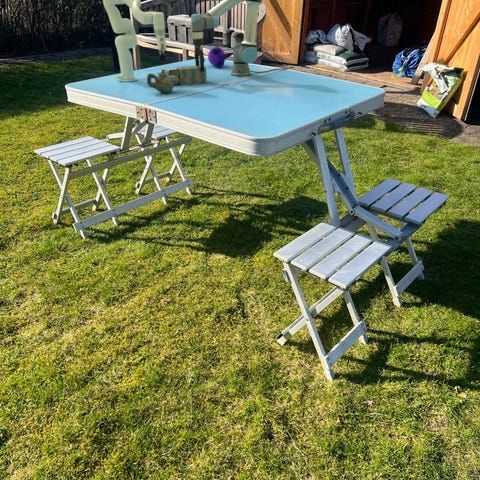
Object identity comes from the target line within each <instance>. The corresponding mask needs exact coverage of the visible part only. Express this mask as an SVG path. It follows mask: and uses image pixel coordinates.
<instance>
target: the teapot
mask: <svg viewBox="0 0 480 480" xmlns="http://www.w3.org/2000/svg"><path fill="white" fill-rule="evenodd" d="M165 70H166V69H163V68H162V69H161V72H158V73H159V75H156V74H154V73H148V74H147V76H146V83H147V85H148V87H150V88H153V89H155V90H157V91H158V92H160V93H162V94H170V92H172V91H173V89H174V86H175V85H177V84H179V83H178V82H179V79H178V77H176V76H175V75H171V76H168V77H167V73H166V72H165ZM152 79H154V82H152Z"/></svg>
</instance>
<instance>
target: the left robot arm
mask: <svg viewBox="0 0 480 480" xmlns="http://www.w3.org/2000/svg"><path fill="white" fill-rule="evenodd" d="M102 3H103V4H102V5H103V7H104V9H105V11H106V13H107V16H108V19H109V22H110V25H111V28H112V30H113V32H114V33H115V34H120V35H118V36H115V40H114V44H115V48H116V52H117V56H118V62H119V67H120V68H119V69H120V74H119V75H115V76H114V78H115V79H117V80H119V81H120V82H123V83H126V82H128V83H130V82H135V81H137V79H138V78H137V77H135V71H134V63H133V55H132V53H131V51H130V49H134V48H136V47H138V43H139V42H138V37H137V33H136V30H135V27H134V24H133V22H132V21H131V20H130V19H129V18H123V17H122V16H121V12H120V10H119V9H118V7H117V6H116V5H126V6H127V7H129V8H130V9H131V14H132V16H133V18H134V19H135V20H136V21H137V22H139V23H140V24H142V25H143V26H145V25H146V26H147V25H153V33H154V36H156V47H157V50H158V52H159V61H160V62H166V56H165V51H167V42H166V23H165V14H164V12H161V11H142V10H141V9H140V8H141V6H142V1H141V0H102Z"/></svg>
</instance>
